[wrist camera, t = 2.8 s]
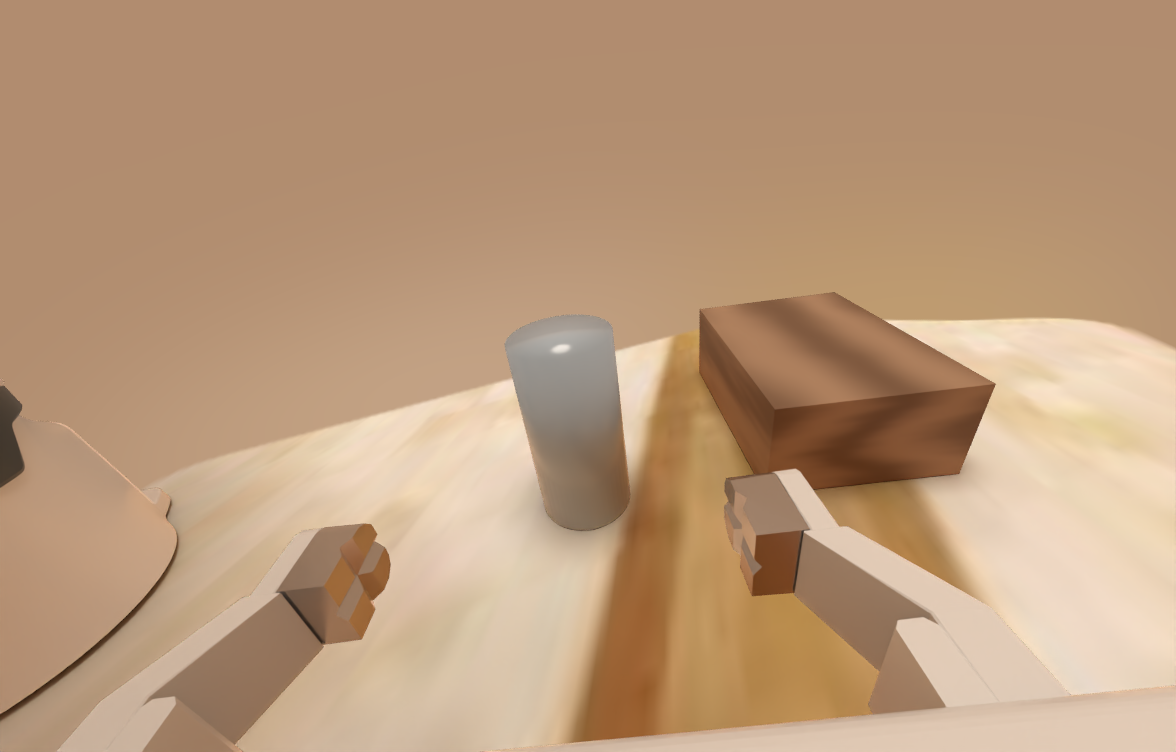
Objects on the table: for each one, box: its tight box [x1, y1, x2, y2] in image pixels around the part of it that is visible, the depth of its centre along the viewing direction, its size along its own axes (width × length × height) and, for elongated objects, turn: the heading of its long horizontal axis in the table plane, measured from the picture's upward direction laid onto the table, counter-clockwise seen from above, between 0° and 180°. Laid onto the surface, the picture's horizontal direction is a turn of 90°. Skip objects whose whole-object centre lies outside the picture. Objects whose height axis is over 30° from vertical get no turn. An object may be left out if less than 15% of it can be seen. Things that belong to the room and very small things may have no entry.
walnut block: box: [699, 292, 996, 489], centre depth 29 cm, size 11×15×6 cm
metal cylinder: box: [505, 315, 630, 530], centre depth 23 cm, size 5×5×11 cm
